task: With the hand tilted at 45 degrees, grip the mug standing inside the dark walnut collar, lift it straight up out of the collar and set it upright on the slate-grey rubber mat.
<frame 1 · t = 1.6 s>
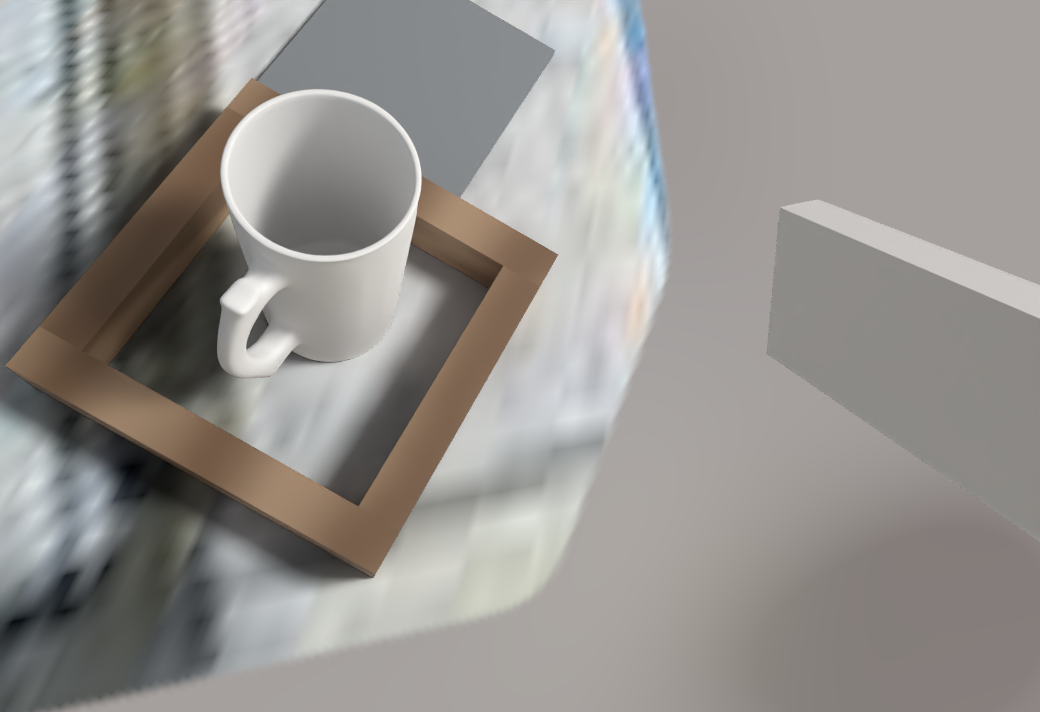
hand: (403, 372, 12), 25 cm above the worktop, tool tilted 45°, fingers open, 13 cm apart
mug: (311, 329, 38), resting in walnut collar
walnut collar: (311, 328, 38), on the worktop
rubber mat: (411, 72, 43), on the worktop
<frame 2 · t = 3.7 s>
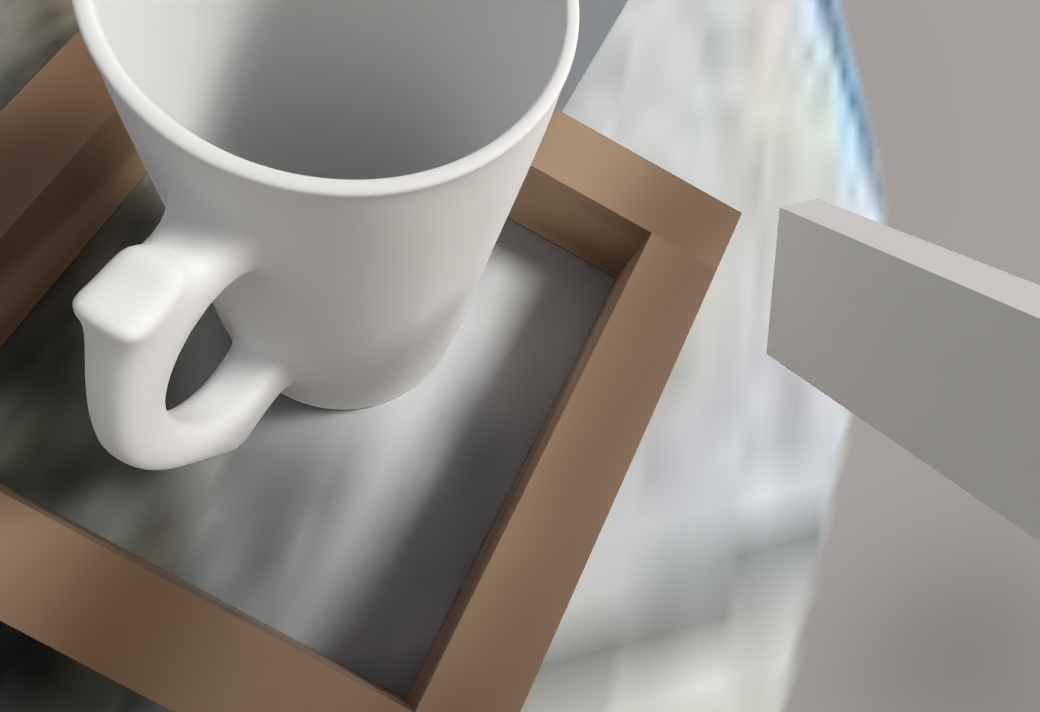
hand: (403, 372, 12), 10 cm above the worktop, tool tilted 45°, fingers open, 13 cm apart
mug: (312, 352, 21), resting in walnut collar
walnut collar: (311, 349, 21), on the worktop
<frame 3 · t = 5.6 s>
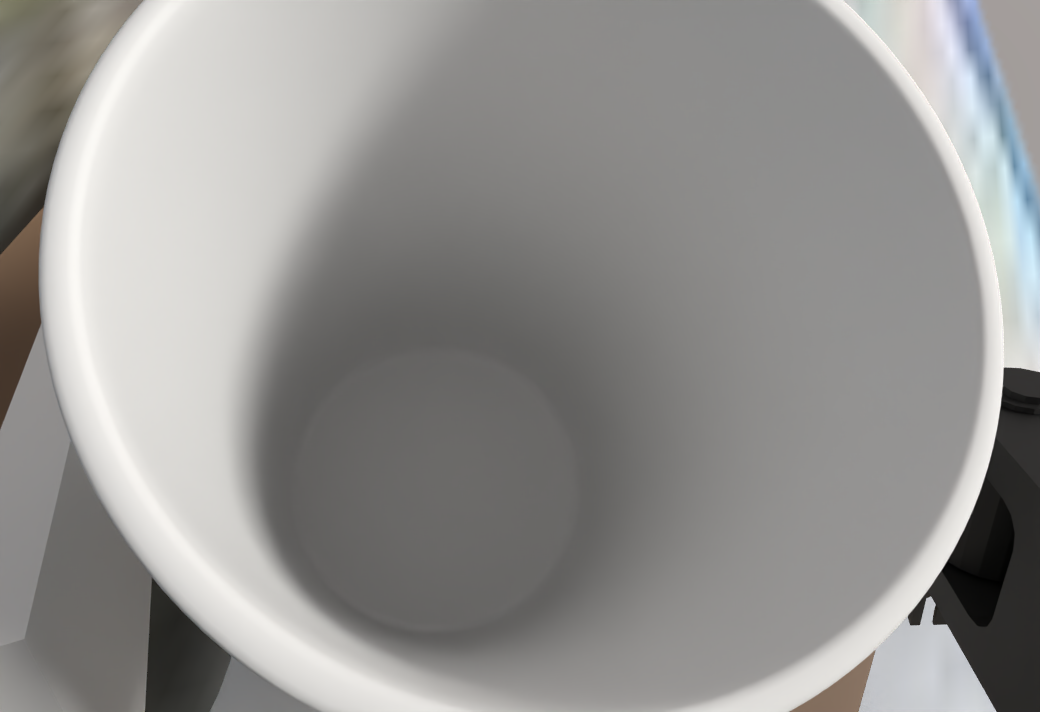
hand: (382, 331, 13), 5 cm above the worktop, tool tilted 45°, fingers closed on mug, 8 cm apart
mug: (393, 560, 16), resting in walnut collar, touching gripper
walnut collar: (396, 559, 16), on the worktop
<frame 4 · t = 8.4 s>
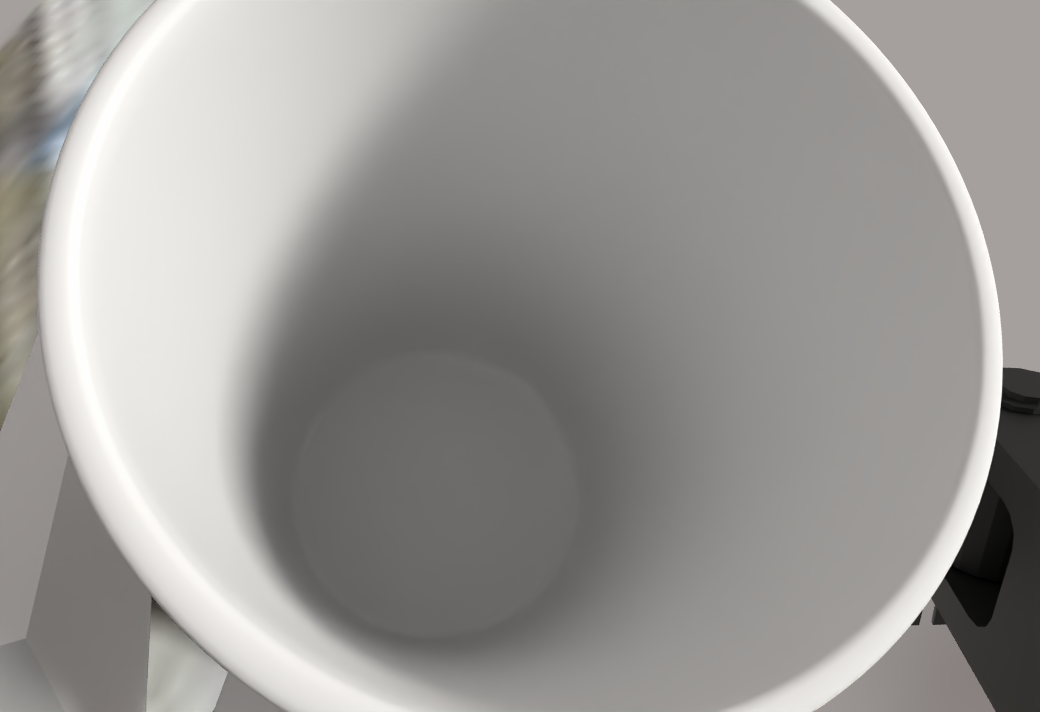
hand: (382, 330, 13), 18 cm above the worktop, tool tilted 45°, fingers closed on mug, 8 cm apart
mug: (393, 565, 16), point 14 cm above the worktop, touching gripper
when the fingers open (6 cm above the worktop, at t = 11.5 s): mug drops 1 cm, resting on rubber mat.
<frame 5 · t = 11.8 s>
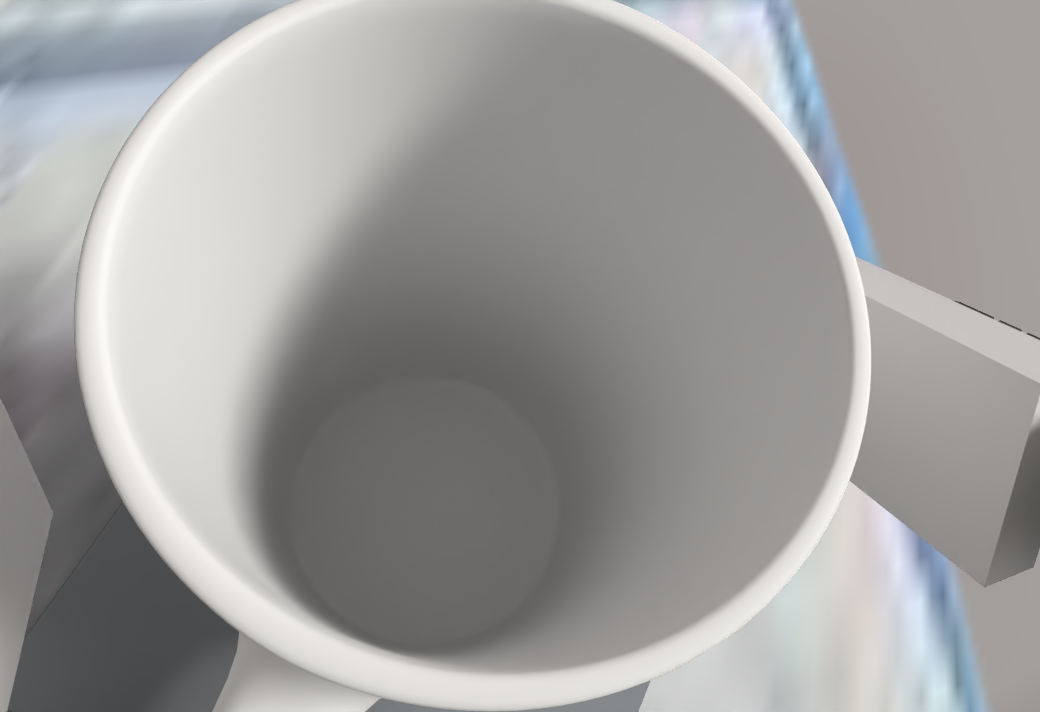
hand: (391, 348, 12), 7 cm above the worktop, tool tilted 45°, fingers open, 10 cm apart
mug: (389, 579, 17), resting on rubber mat
rubber mat: (410, 563, 18), on the worktop
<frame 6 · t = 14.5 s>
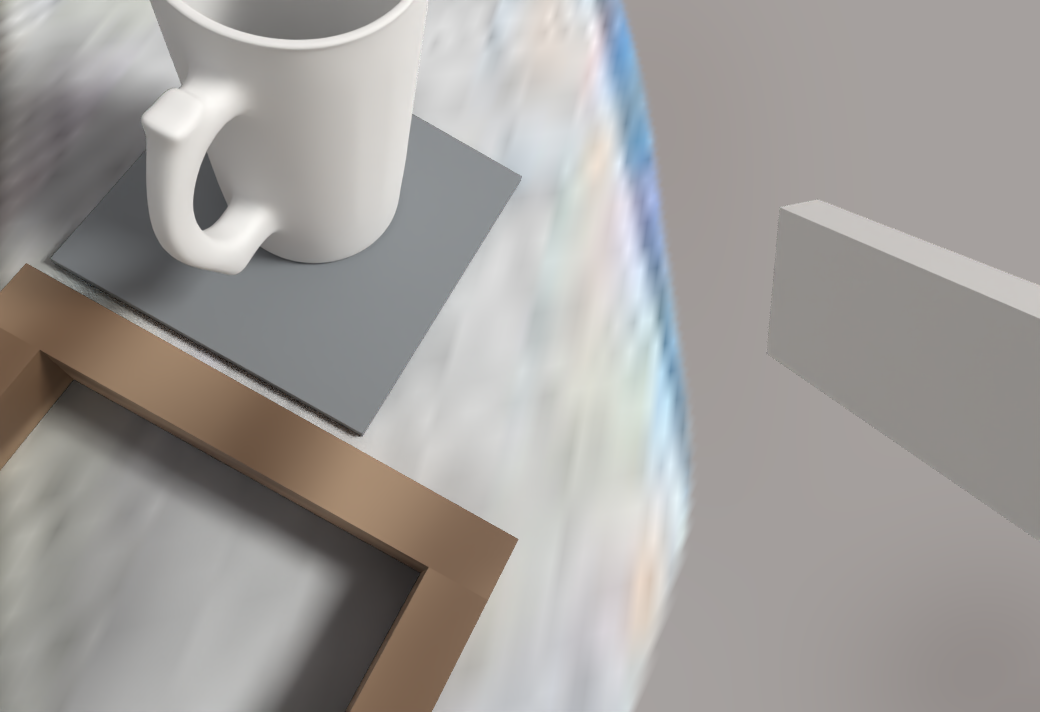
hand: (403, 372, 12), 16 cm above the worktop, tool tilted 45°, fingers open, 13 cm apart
mug: (291, 224, 29), resting on rubber mat
walnut collar: (121, 666, 23), on the worktop
rubber mat: (306, 219, 29), on the worktop
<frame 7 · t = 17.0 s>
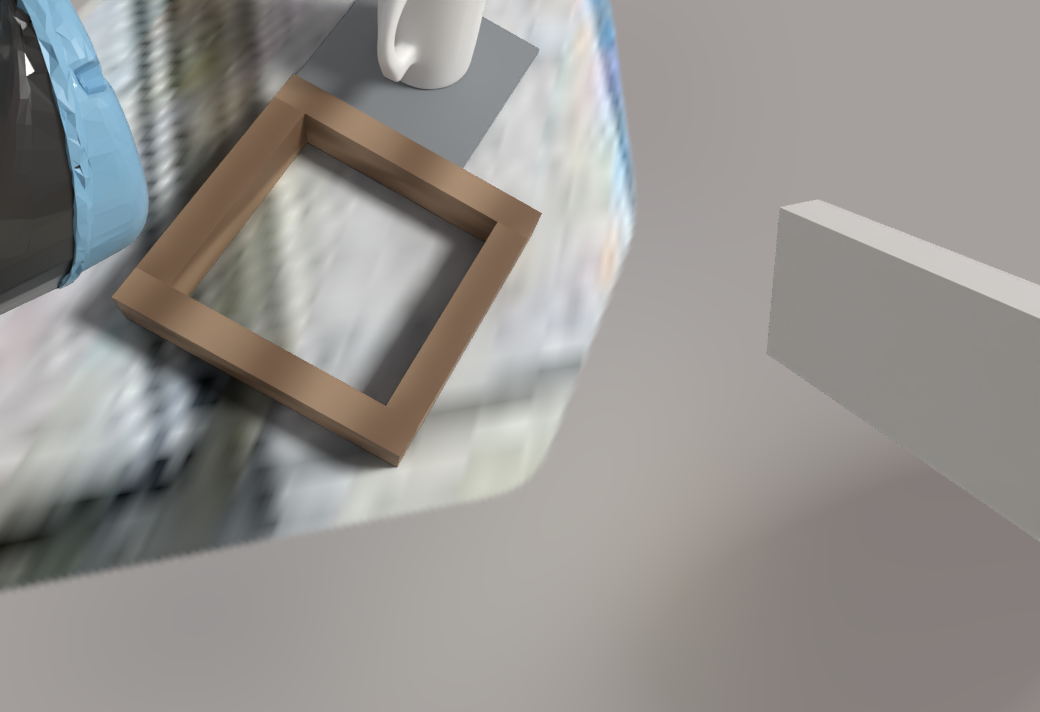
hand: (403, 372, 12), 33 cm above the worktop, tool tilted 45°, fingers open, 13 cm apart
mug: (413, 70, 52), resting on rubber mat
walnut collar: (343, 274, 47), on the worktop
rubber mat: (420, 68, 52), on the worktop
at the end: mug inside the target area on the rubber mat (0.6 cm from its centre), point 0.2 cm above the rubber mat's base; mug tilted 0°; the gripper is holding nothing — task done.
